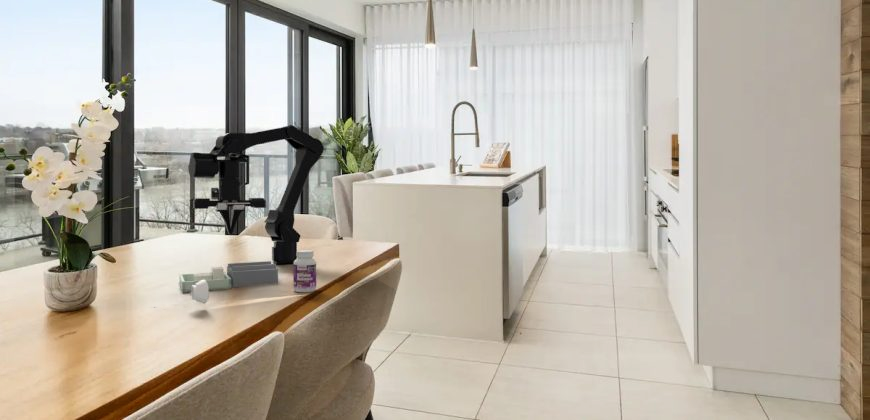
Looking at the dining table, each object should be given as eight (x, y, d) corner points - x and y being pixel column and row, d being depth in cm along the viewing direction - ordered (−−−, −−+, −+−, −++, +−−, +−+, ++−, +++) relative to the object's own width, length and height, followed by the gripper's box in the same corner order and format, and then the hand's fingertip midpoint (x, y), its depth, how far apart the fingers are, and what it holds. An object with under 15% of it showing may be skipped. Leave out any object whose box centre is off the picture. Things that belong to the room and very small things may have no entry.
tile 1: (193, 274, 142) (193, 284, 142) (194, 276, 139) (194, 286, 139) (210, 273, 144) (210, 282, 144) (211, 275, 140) (211, 285, 140)
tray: (224, 280, 150) (224, 271, 150) (231, 288, 138) (231, 278, 138) (179, 284, 145) (179, 274, 145) (182, 292, 133) (182, 282, 133)
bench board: (269, 278, 155) (269, 260, 154) (278, 284, 144) (277, 265, 144) (227, 281, 150) (226, 262, 149) (233, 288, 139) (232, 268, 139)
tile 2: (221, 266, 145) (211, 267, 144) (223, 268, 141) (212, 269, 140) (221, 282, 145) (211, 282, 144) (223, 284, 141) (213, 285, 140)
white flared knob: (209, 304, 119) (209, 281, 119) (194, 306, 117) (194, 282, 117) (205, 300, 123) (204, 278, 123) (190, 302, 121) (190, 279, 121)
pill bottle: (296, 293, 131) (296, 252, 131) (291, 289, 136) (290, 250, 136) (319, 291, 134) (318, 251, 134) (313, 288, 139) (312, 249, 138)
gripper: (259, 179, 168) (259, 231, 169) (191, 178, 160) (192, 233, 160) (265, 178, 158) (266, 233, 159) (194, 177, 150) (195, 236, 150)
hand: (230, 234), depth 157 cm, fingers closed
